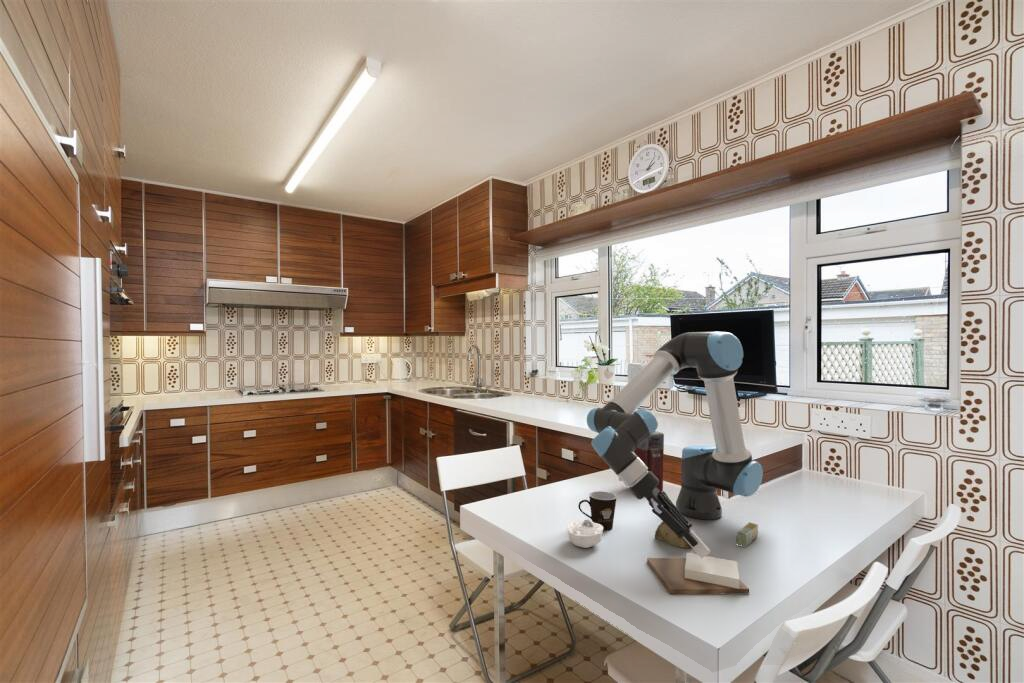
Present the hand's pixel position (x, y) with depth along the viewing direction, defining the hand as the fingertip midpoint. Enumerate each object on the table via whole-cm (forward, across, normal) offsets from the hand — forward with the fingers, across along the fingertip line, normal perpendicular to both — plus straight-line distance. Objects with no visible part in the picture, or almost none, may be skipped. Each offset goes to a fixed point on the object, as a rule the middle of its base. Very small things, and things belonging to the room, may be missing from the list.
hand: (705, 554), depth 118 cm
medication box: (+13, -31, +4) cm, 34 cm away
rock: (-2, -20, -11) cm, 23 cm away
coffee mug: (-18, -22, -27) cm, 39 cm away
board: (+3, 0, -6) cm, 7 cm away
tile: (-1, 0, -6) cm, 6 cm away
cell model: (-18, -6, -27) cm, 33 cm away
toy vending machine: (-11, -69, -20) cm, 73 cm away
